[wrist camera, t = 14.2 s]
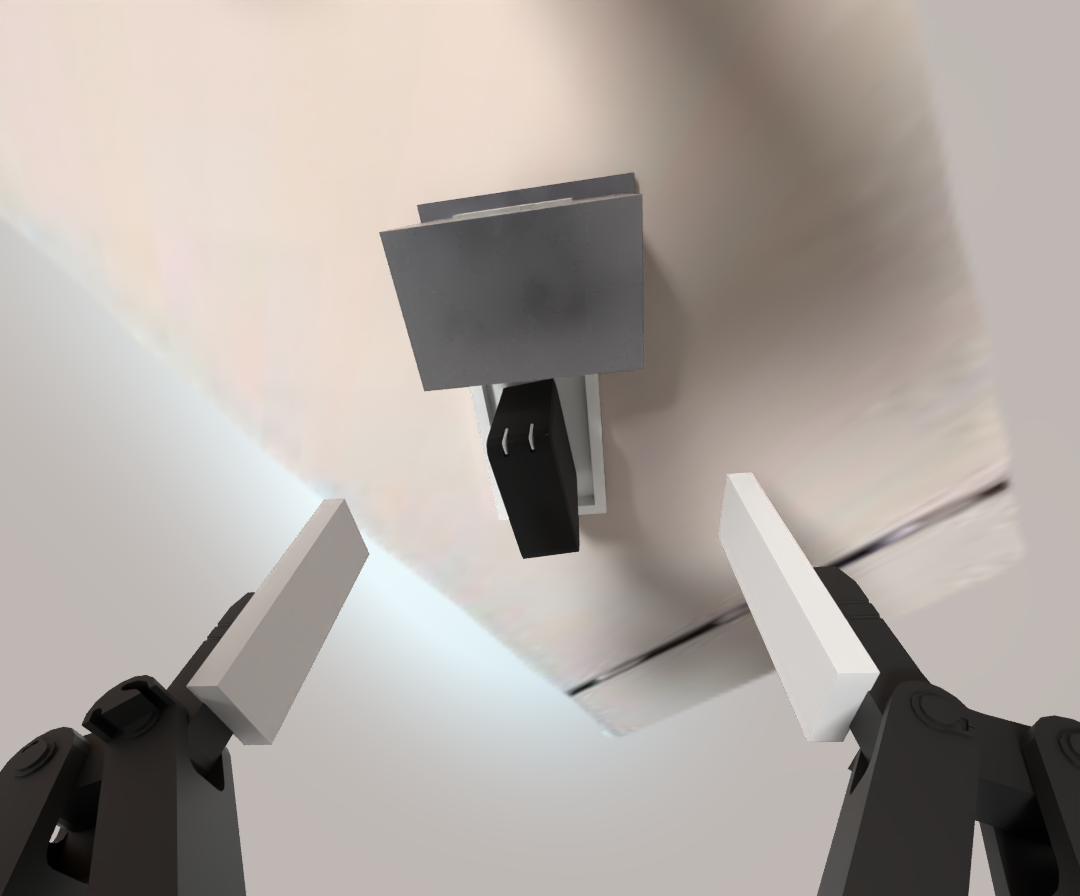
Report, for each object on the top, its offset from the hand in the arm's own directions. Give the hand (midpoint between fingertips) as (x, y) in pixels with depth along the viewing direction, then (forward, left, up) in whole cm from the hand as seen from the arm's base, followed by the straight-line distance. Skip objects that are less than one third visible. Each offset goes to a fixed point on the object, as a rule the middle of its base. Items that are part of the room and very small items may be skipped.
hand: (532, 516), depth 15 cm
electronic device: (+8, -2, -21) cm, 22 cm away
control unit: (-5, -1, -21) cm, 22 cm away
